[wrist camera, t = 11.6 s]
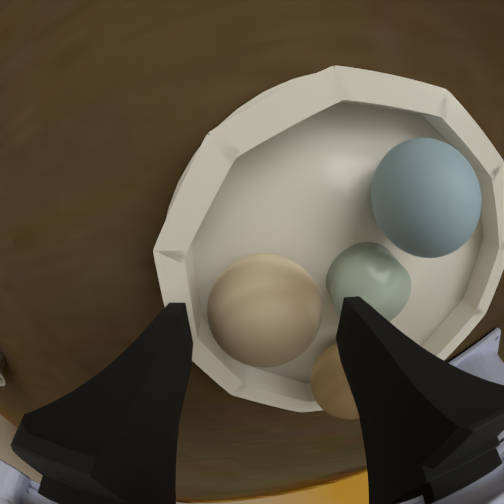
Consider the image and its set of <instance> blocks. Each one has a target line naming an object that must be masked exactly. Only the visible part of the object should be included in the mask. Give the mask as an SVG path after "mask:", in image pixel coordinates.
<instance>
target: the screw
mask: <svg viewBox="0 0 504 504" xmlns="http://www.w3.org/2000/svg"><path fill="white" fill-rule="evenodd" d="M5 365H6V363H5V359H4V355H3V354H2V353H1V352H0V386H5V384H6V383H7V380H6V377H5V375H4V373H3V371H2V369H3V368H4V366H5Z"/></svg>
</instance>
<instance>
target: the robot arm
mask: <svg viewBox="0 0 504 504" xmlns="http://www.w3.org/2000/svg"><path fill="white" fill-rule="evenodd" d="M500 334H501V330H500V329H499V328H496V329H495V330H493V331H492V332H491V333H490V334H488V335H487V336H486V337H484V338H483V339H482V340H480V341H479V342H478V343H476V344H475V345H473V346H472V347H471V348H469V349H468V350H466V351H465V352H463V353H462V354H460V355H459V356H457V357H456V358H454V359H453V360H451V361H450V362H448V363H447V362H446V361H444V360H442V359H440V358H439V357H437V356H435V355H434V354H432V353H431V352H429V351H427V350H426V349H424V348H423V347H421V346H420V345H418V344H417V343H416V342H414V341H413V340H412V339H410V338H409V337H408V336H406V335H405V334H404V333H403V332H401V331H400V330H399V329H398V328H396V327H395V326H394V325H393V324H391V323H390V322H389V321H388V320H387V319H386V318H384V317H383V316H382V315H381V314H380V313H379V312H377V311H376V310H375V309H374V308H373V307H372V306H370V305H369V304H368V303H367V302H366V301H364V300H363V299H362V298H361V297H359V296H355V297H344V299H343V305H342V310H341V315H340V320H339V325H338V329H337V334H336V342H337V347H338V352H339V356H340V361H341V364H342V367H343V369H344V372H345V375H346V378H347V381H348V384H349V387H350V389H351V392H352V395H353V398H354V401H355V404H356V407H357V411H358V414H359V418H360V423H361V428H362V434H363V439H364V446H365V453H366V461H367V470H368V483H369V504H504V363H503V362H502V360H501V359H500V357H499V356H498V355H497V353H498V347H499V341H500ZM192 352H193V339H192V334H191V329H190V324H189V319H188V314H187V308H186V303H172V302H169V303H168V304H167V306H166V307H165V308H164V309H163V310H162V311H161V312H160V313H159V315H158V316H157V317H156V318H155V319H154V320H153V321H152V323H151V324H150V325H149V326H148V327H147V328H146V329H145V330H144V331H143V333H142V334H141V335H140V336H139V337H138V338H137V339H136V340H135V341H134V342H133V343H132V344H131V345H130V346H129V347H128V348H127V349H126V350H125V351H124V352H123V353H122V354H121V355H120V356H119V357H118V358H117V359H116V360H115V361H113V362H112V363H111V364H110V365H109V366H107V367H106V368H105V369H104V370H103V371H101V372H100V373H99V374H97V375H96V376H95V377H93V378H92V379H90V380H89V381H87V382H86V383H84V384H83V385H82V386H80V387H79V388H77V389H75V390H74V391H72V392H70V393H69V394H67V395H65V396H63V397H62V398H60V399H58V400H56V401H54V402H52V403H50V404H48V405H46V406H43V407H41V408H39V409H36V410H34V411H32V412H29V413H27V414H24V416H23V418H22V420H21V423H20V425H19V427H18V429H17V431H16V434H15V436H14V438H13V441H12V443H11V447H12V449H13V451H14V452H15V453H16V454H17V455H18V456H19V457H20V458H21V459H22V460H24V461H25V462H26V463H27V464H29V465H30V466H31V467H33V468H34V469H35V470H36V471H38V472H39V473H40V474H42V475H43V477H42V480H41V483H37V482H36V481H33V480H31V479H30V478H29V477H28V476H27V475H25V474H24V473H23V472H21V471H19V470H18V469H16V468H15V467H13V466H12V465H10V464H8V463H6V462H5V461H3V460H1V459H0V504H176V495H175V479H176V452H177V438H178V427H179V420H180V414H181V410H182V405H183V401H184V396H185V392H186V387H187V383H188V378H189V374H190V369H191V362H192Z"/></svg>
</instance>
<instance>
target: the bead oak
mask: <svg viewBox="0 0 504 504" xmlns="http://www.w3.org/2000/svg"><path fill="white" fill-rule="evenodd" d="M311 390H312V394H313V396H314V398H315V401H316V402H317V404H318V405H319V406H320V407H321V408H322V409H323V410H324V411H325V412H327V413H328V414H330V415H332V416H334V417H337V418H341V419H357V418H359V414H358V411H357V407H356V404H355V401H354V398H353V395H352V392H351V389H350V387H349V384H348V381H347V378H346V375H345V372H344V369H343V367H342V364H341V361H340V356H339V352H338V347H337V342H335V343H333V344H332V345H330V346H329V347H327V348H326V349H325V350H324V351H323V352H322V353H321V354H320V356H319V357H318V359H317V360H316V362H315V364H314V366H313V369H312V373H311Z"/></svg>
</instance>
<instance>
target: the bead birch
mask: <svg viewBox="0 0 504 504" xmlns="http://www.w3.org/2000/svg"><path fill="white" fill-rule="evenodd" d="M322 312H323V311H322V300H321V296H320V292H319V289H318V287H317V285H316V283H315V281H314V280H313V278H312V277H311V275H310V274H309V273H308V272H307V271H306V270H305V269H304V268H303V267H302V266H301V265H299V264H298V263H296V262H295V261H293V260H291V259H289V258H287V257H285V256H281V255H277V254H270V253H260V254H253V255H249V256H246V257H243V258H241V259H239V260H237V261H235V262H233V263H232V264H230V265H229V266H228V267H227V268H226V269H225V270H224V271H223V272H222V273H221V274H220V275H219V276H218V278H217V279H216V281H215V282H214V284H213V286H212V288H211V291H210V294H209V298H208V303H207V318H208V323H209V328H210V330H211V333H212V335H213V337H214V339H215V341H216V342H217V344H218V345H219V346H220V347H221V349H222V350H223V351H224V352H226V353H227V354H228V355H229V356H230V357H232V358H233V359H235V360H237V361H239V362H241V363H243V364H245V365H249V366H253V367H262V368H268V367H276V366H280V365H283V364H286V363H288V362H290V361H293V360H294V359H296V358H297V357H299V356H300V355H301V354H302V353H304V352H305V351H306V350H307V349H308V348H309V346H310V345H311V344H312V342H313V341H314V339H315V337H316V336H317V333H318V331H319V328H320V325H321V320H322Z"/></svg>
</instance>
